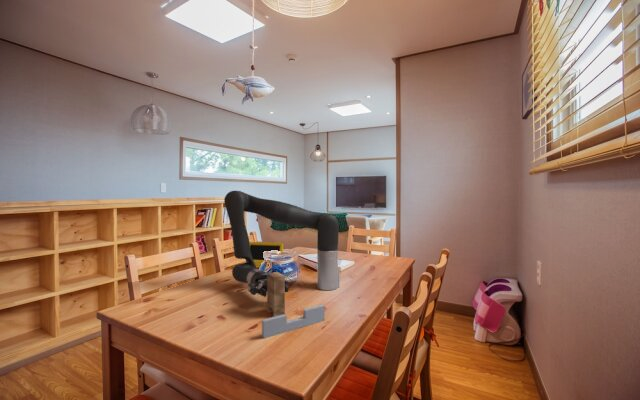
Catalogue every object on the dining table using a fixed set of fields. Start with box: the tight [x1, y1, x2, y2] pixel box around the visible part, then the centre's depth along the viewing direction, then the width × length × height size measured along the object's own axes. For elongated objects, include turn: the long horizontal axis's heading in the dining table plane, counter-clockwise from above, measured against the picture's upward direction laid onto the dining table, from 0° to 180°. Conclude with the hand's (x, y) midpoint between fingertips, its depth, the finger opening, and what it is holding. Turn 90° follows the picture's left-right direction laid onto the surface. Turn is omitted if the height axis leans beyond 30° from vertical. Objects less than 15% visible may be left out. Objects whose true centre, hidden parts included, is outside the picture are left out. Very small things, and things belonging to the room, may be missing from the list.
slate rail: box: [261, 304, 326, 339], centre depth 97 cm, size 22×2×5 cm, turn 124°
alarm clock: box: [244, 241, 284, 269], centre depth 165 cm, size 20×8×16 cm, turn 80°
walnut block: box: [266, 271, 286, 317], centre depth 108 cm, size 4×6×14 cm, turn 34°
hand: (276, 291), depth 108 cm, fingers open, 8 cm apart
